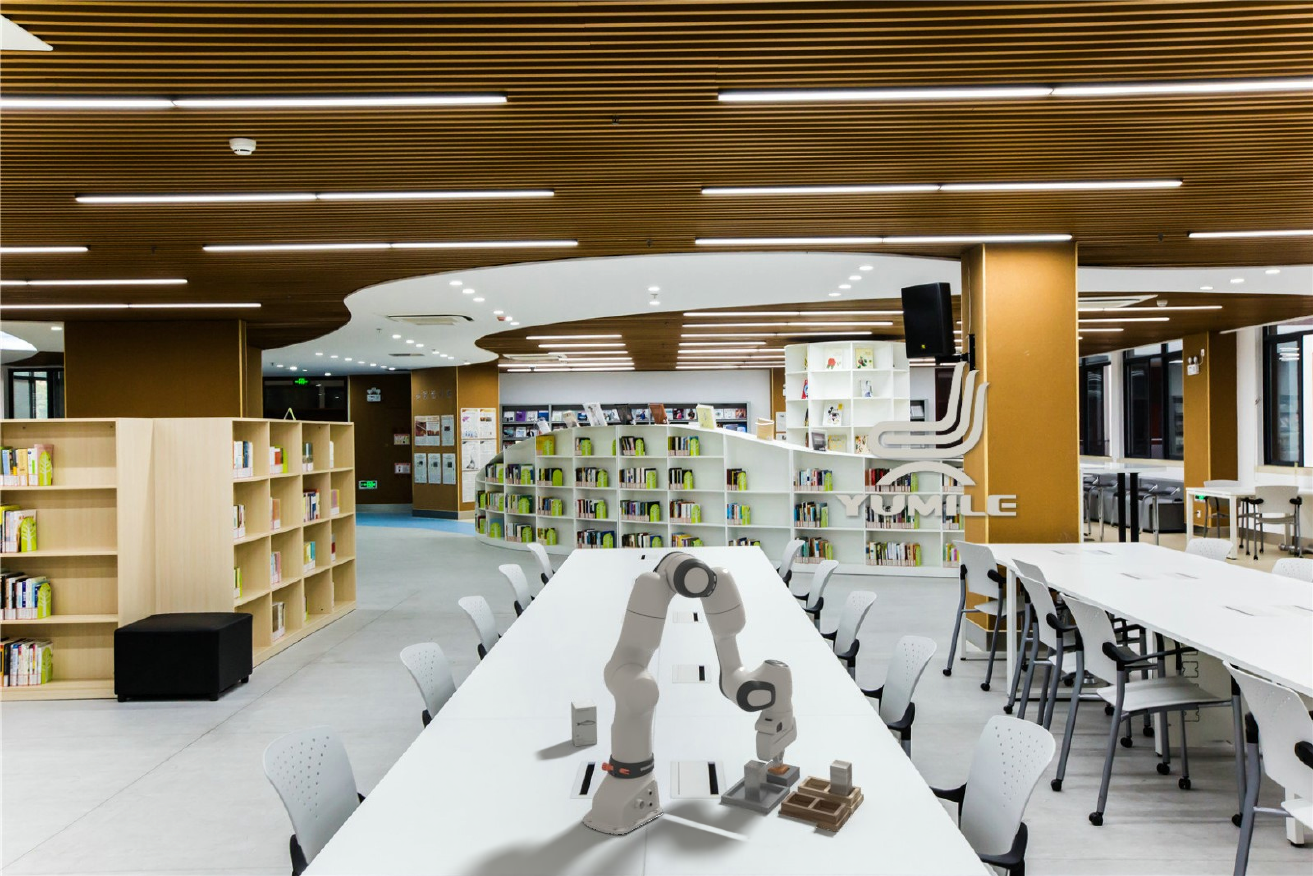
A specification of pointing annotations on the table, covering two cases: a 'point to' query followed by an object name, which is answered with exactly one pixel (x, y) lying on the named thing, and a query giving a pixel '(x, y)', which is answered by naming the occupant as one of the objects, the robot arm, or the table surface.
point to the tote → (766, 805)
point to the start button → (779, 769)
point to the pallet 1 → (825, 792)
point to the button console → (784, 779)
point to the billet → (755, 780)
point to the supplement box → (584, 722)
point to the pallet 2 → (815, 810)
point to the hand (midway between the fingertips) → (777, 765)
